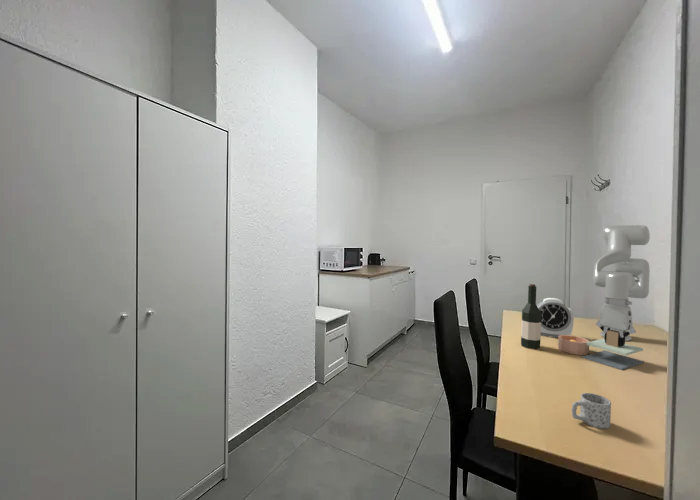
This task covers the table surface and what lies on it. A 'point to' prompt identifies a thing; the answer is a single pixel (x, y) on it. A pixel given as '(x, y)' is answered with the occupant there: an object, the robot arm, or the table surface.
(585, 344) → the bowl
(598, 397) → the mug
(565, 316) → the alarm clock
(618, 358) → the mat
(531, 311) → the wine bottle
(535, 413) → the table surface
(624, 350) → the lid
